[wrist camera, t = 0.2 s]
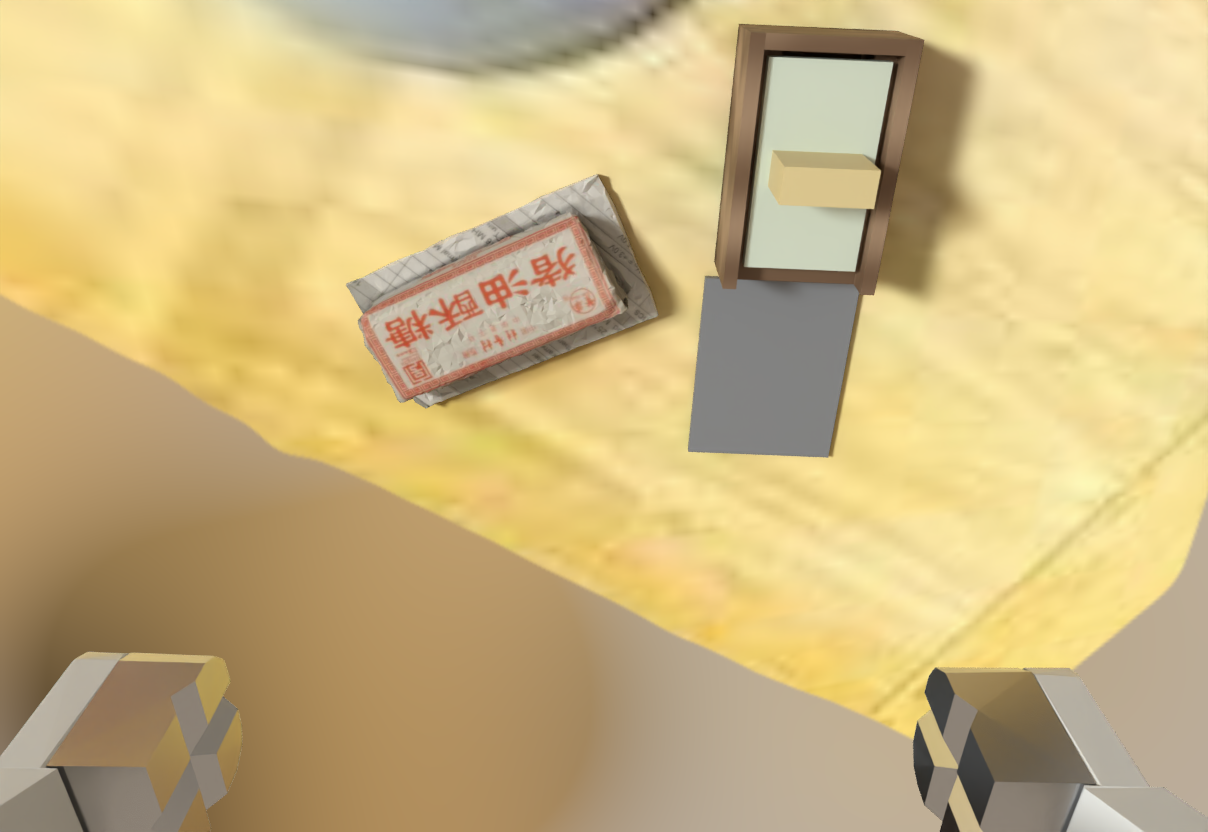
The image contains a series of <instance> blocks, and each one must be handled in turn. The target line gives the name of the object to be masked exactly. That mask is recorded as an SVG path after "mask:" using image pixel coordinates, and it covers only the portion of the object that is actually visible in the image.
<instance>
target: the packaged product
mask: <svg viewBox="0 0 1208 832" xmlns="http://www.w3.org/2000/svg"><path fill="white" fill-rule="evenodd" d="M346 286H347V287H348V289H349V290H350V292H351V294H352V295H353V297H354V299H355V301H356V302H357V304H358V306H359V308H360V309H361V311H362V312H363V315H362V316H361V317H360V319H359V320H358V324H359V328H360V330H361V331H362V333H363V336H364V343H365V346H366V348H367V349H368V350H369V351H370V353H371V354H372V355H373V357H374V359H375V360H376V361H378V363H379V364H380V365H381V368H382V371H383V374H384V375H385V377H386V380H387V383H389V384H390V385H391V386H392V388H393V390H394V393H395V395H396V397H397V400H398V401H399V402H400V403H401V402H406V401H408V400H410V399H414V401H415V402H416V403H418V404H419V405H421V406H423V407H425V408H428V407H430V406H432V405H434V404H436V403H438V402H442V401H444V400H446V399H448V398H451V397H454V396H457V395H459V394H462V393H464V392H466V391H469V390H471V389H474V388H476V387H479V386H481V385H484V384H486V383H488V382H491V381H495V380H497V379H499V378H501V377H504V376H507V375H509V374H511V373H514V372H518V371H521V370H523V369H526V368H528V367H530V366H532V365H534V364H537V363H540V362H543V361H545V360H548V359H550V358H552V357H555V356H557V355H560V354H562V353H565V352H568V351H570V350H572V349H575V348H577V347H579V346H582V345H585V344H588V343H591V342H593V341H596V340H599V339H601V338H604V337H606V336H608V335H611V334H614V333H616V332H619V331H621V330H624V329H626V328H629V327H632V326H634V325H636V324H638V323H641V322H643V321H646V320H649V319H652V318H655V317H657V316H658V312H657V309H656V305H655V302H654V299H653V296H652V293H651V290H650V288H649V286H648V284H647V282H646V280H645V278H644V276H643V274H642V272H641V270H640V268H639V266H638V264H637V262H636V259H635V256H634V254H633V251H632V248H631V245H630V242H629V239H628V237H627V235H626V232H625V230H624V227H623V225H622V222H621V220H620V218H619V215H618V213H617V210H616V208H615V205H614V203H613V202H612V200H611V198H610V196H609V194H608V192H607V190H606V189H605V187H604V185H603V183H602V181H601V180H600V178H599V176H598V174H596V175H593V176H591V177H588V178H586V179H583V180H581V181H578V182H576V183H573V184H571V185H568V186H566V187H563V188H561V189H559V190H556V191H554V192H551V193H549V194H547V195H544V196H542V197H539V198H537V199H536V200H534V201H532V202H530V203H528V204H526V205H524V206H522V207H520V208H518V209H516V210H513V211H511V212H509V213H506V214H504V215H502V216H499V217H497V218H495V219H492V220H490V221H488V222H485V223H483V224H481V225H479V226H477V227H474V228H472V229H469V230H466V231H463V232H460V233H458V234H455V235H452V236H450V237H448V238H446V239H445V240H441V241H439V242H437V243H435V244H434V245H432V246H430V247H428V248H427V249H425V250H423V251H420V252H417V253H415V254H412V255H410V256H407V257H405V258H402V259H399V260H397V261H394V262H392V263H390V264H388V265H386V266H384V267H382V268H380V269H378V270H376V271H374V272H372V273H370V274H368V275H366V276H365V277H363V278H360V279H357V280H354V281H352V282H349V283H347V284H346Z"/></svg>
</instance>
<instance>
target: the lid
mask: <svg viewBox="0 0 1208 832" xmlns="http://www.w3.org/2000/svg"><path fill="white" fill-rule="evenodd" d="M892 68H893V62H891V61H888V60H866V59H843V58H821V57H798V56H776V55H767V59H766V67H765V76H764V84H763V93H762V101H761V109H760V118H759V126H758V134H757V143H756V151H755V160H754V168H753V176H752V185H751V193H750V202H749V210H748V218H747V227H746V235H745V244H744V252H743V260H742V263H743V266H744V267H757V268H781V269H804V270H828V271H852V272H855V269H856V264H857V258H858V253H859V247H860V242H861V236H862V231H863V226H864V220H865V215H866V209H874V206H875V201H876V195H877V190H878V185H879V179H880V174H881V170H880V169H879V168H877V167H876V166H875V160H876V155H877V149H878V144H879V138H880V133H881V127H882V122H883V117H884V111H885V106H886V100H887V95H888V89H889V84H890V78H891V73H892Z"/></svg>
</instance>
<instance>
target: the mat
mask: <svg viewBox="0 0 1208 832" xmlns="http://www.w3.org/2000/svg"><path fill="white" fill-rule="evenodd" d="M858 296H859V292H858V290H857V289H856V287H855V286H854V284H838V283H814V282H790V281H767V280H743V279H737V286H736V289H723V288H722V285H721V282H720V278H719V277H715V276H705V283H704V293H703V303H702V313H701V323H700V333H699V343H698V354H697V364H696V374H695V384H694V394H693V404H692V414H691V424H690V434H689V444H688V452H709V453H733V454H758V455H782V456H807V457H828V455H829V450H830V445H831V439H832V434H833V429H834V423H835V418H836V413H837V407H838V402H839V397H840V392H841V386H842V381H843V376H844V370H845V365H846V360H847V354H848V349H849V344H850V338H851V333H852V328H853V322H854V317H855V312H856V306H857V301H858Z"/></svg>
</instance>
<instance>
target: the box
mask: <svg viewBox="0 0 1208 832" xmlns="http://www.w3.org/2000/svg"><path fill="white" fill-rule="evenodd" d="M923 44H924V40H923V39H920V38H917V37H914V36H910V35H907V34H904V33H901V32H898V31H884V30H862V29H839V28H817V27H794V26H772V25H750V24H739V29H738V39H737V48H736V58H735V68H734V77H733V87H732V97H731V106H730V116H729V126H728V135H727V145H726V155H725V164H724V174H723V184H722V193H721V203H720V213H719V222H718V232H717V242H716V251H715V261H714V262H715V265H716V268H717V272H718V275H719V278H720V282H721V285H722V288H723V289H736V286H737V279H743V280H767V281H790V282H814V283H838V284H854V286H855V287H856V289H857V290H858V292H859V293H860V294H861V295H874V293H875V288H876V283H877V278H878V273H879V268H880V262H881V257H882V252H883V247H884V242H885V237H886V232H887V227H888V222H889V217H890V212H891V207H892V201H893V196H894V191H895V186H896V181H897V176H898V171H899V166H900V161H901V156H902V151H903V146H904V141H905V135H906V130H907V125H908V120H909V115H910V110H911V105H912V100H913V95H914V90H915V85H916V80H917V75H918V69H919V64H920V59H921V54H922V49H923ZM767 55H776V56H798V57H821V58H843V59H866V60H888V61H891V62H893V68H892V73H891V78H890V84H889V89H888V95H887V100H886V106H885V111H884V117H883V122H882V127H881V133H880V138H879V144H878V149H877V155H876V160H875V166H876V167H877V168H879V169H880V170H881V174H880V179H879V185H878V190H877V195H876V201H875V206H874V209H866V215H865V220H864V226H863V231H862V236H861V242H860V247H859V253H858V258H857V264H856V269H855V272H852V271H828V270H804V269H781V268H757V267H744V266H743V263H742V260H743V252H744V244H745V235H746V227H747V218H748V210H749V202H750V193H751V185H752V176H753V168H754V160H755V151H756V143H757V134H758V126H759V118H760V109H761V101H762V93H763V84H764V76H765V67H766V59H767Z"/></svg>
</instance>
